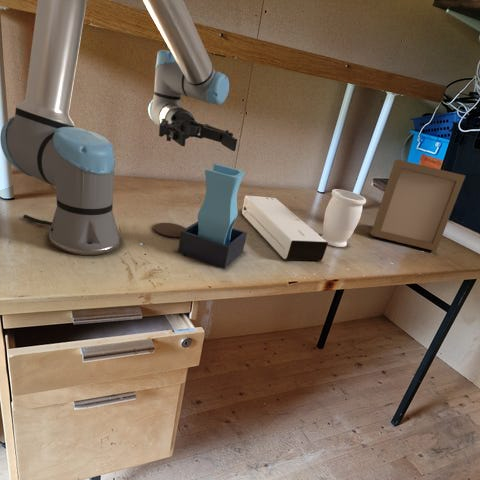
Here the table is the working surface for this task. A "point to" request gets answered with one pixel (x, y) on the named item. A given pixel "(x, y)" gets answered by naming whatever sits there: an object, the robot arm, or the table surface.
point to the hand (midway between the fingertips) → (210, 142)
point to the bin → (211, 246)
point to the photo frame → (417, 204)
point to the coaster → (169, 230)
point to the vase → (219, 203)
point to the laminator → (283, 229)
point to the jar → (342, 216)
